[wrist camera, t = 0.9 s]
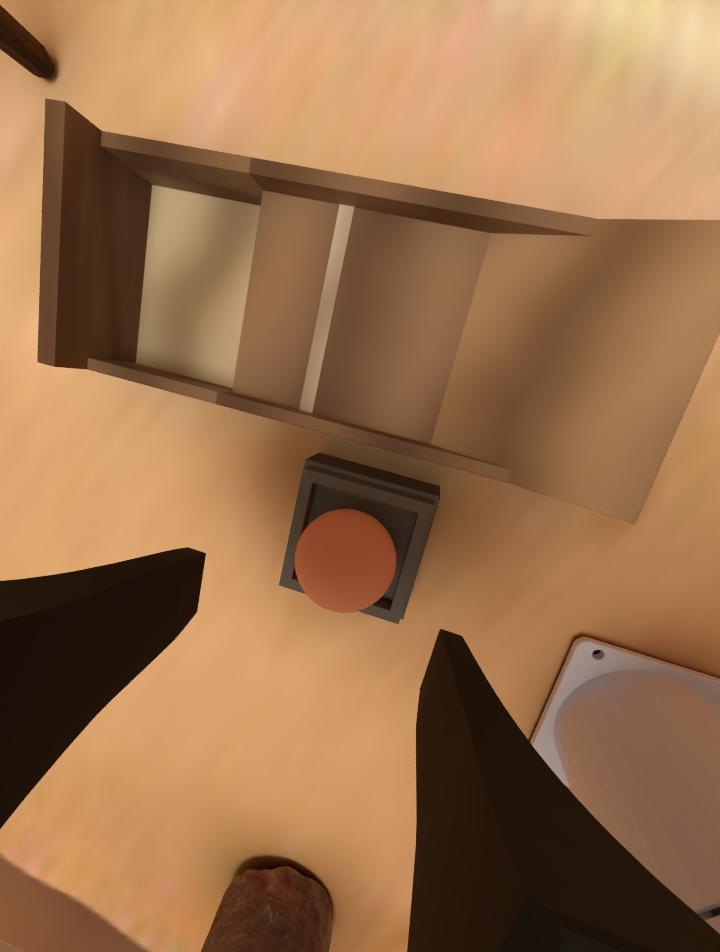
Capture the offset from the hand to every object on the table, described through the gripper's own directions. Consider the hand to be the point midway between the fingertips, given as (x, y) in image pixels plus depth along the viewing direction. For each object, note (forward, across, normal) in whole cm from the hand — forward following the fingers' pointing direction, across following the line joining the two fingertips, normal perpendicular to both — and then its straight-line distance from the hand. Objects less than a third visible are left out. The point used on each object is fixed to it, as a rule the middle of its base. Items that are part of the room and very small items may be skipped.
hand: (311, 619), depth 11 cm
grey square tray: (+8, 0, 0) cm, 8 cm away
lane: (+8, +2, -9) cm, 12 cm away
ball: (+4, 0, 0) cm, 4 cm away
